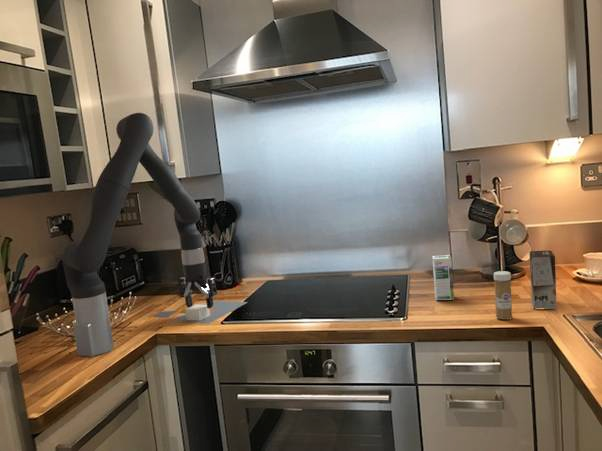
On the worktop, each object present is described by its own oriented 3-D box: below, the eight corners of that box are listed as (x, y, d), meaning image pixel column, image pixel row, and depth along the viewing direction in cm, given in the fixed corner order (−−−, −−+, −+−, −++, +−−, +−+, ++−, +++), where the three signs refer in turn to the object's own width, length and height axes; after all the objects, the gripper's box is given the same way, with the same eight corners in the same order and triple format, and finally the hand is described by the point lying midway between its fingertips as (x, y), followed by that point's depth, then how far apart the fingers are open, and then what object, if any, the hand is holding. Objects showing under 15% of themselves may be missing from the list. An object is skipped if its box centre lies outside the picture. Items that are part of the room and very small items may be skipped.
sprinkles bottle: (502, 321, 143) (500, 275, 141) (492, 317, 147) (490, 272, 145) (516, 319, 144) (514, 272, 142) (505, 314, 148) (503, 269, 147)
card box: (199, 320, 170) (198, 310, 169) (186, 319, 172) (185, 309, 172) (213, 313, 177) (212, 303, 176) (201, 312, 179) (199, 302, 179)
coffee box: (557, 310, 148) (555, 256, 146) (533, 309, 150) (531, 256, 148) (553, 301, 157) (551, 249, 155) (530, 300, 159) (528, 250, 157)
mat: (209, 324, 165) (208, 323, 165) (170, 322, 173) (170, 320, 173) (248, 303, 187) (248, 302, 187) (212, 301, 194) (212, 300, 194)
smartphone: (138, 325, 171) (160, 311, 186) (139, 328, 171) (160, 313, 186) (157, 325, 169) (177, 310, 184) (157, 327, 170) (178, 313, 184)
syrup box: (436, 301, 167) (433, 258, 165) (434, 296, 173) (432, 255, 171) (454, 301, 166) (451, 257, 164) (452, 296, 172) (449, 254, 170)
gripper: (169, 263, 172) (176, 309, 174) (204, 264, 166) (210, 311, 168) (184, 258, 179) (190, 303, 181) (217, 258, 172) (223, 304, 175)
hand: (200, 307), depth 174 cm, fingers open, 8 cm apart
